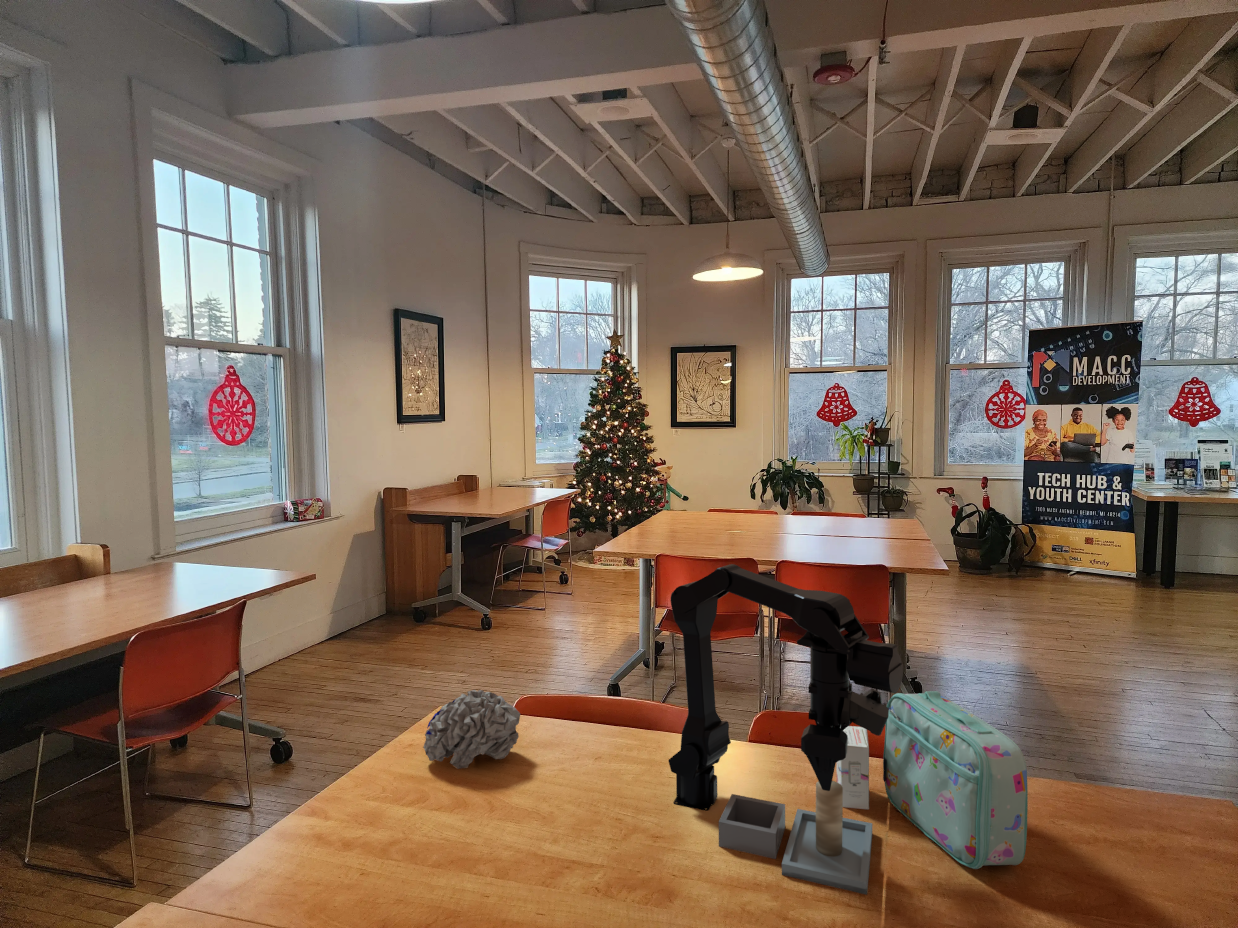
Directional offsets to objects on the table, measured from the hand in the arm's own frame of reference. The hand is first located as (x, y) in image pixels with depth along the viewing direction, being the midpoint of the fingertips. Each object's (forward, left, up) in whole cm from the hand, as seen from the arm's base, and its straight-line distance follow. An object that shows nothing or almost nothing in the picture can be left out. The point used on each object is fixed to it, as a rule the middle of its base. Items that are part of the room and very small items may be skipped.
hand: (829, 775), depth 108 cm
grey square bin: (-12, 0, -13) cm, 18 cm away
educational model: (-71, +7, -13) cm, 73 cm away
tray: (0, 0, -13) cm, 13 cm away
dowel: (0, 0, -12) cm, 12 cm away
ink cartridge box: (+2, +19, -13) cm, 23 cm away
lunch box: (+17, +14, -13) cm, 26 cm away
